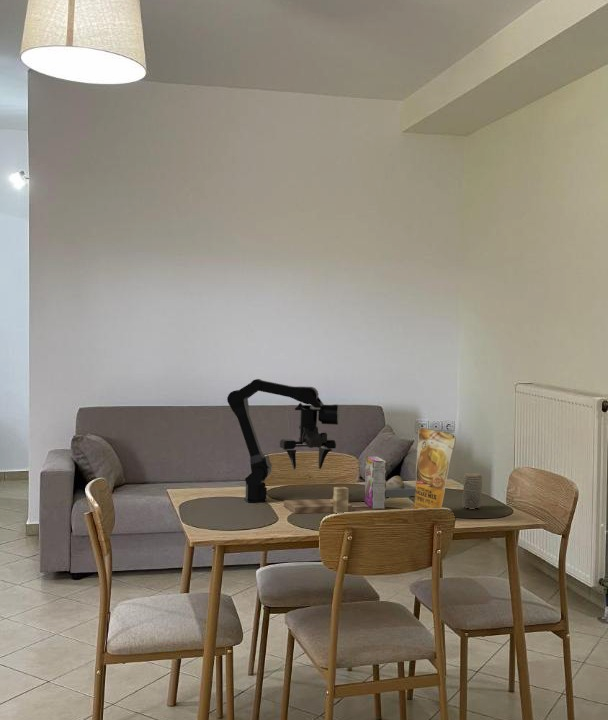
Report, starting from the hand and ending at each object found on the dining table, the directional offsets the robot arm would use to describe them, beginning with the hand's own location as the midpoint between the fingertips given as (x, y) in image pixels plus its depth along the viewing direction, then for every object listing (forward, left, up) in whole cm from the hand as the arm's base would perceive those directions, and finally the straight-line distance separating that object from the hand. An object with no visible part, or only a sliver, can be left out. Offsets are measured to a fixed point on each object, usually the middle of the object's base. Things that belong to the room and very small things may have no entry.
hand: (307, 468), depth 287 cm
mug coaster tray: (+38, +12, -12) cm, 42 cm away
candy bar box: (+22, -8, -12) cm, 26 cm away
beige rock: (+36, +10, -12) cm, 40 cm away
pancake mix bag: (+34, -26, -12) cm, 45 cm away
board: (+1, -9, -12) cm, 15 cm away
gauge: (+6, -14, -12) cm, 19 cm away
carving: (+54, -18, -12) cm, 58 cm away
